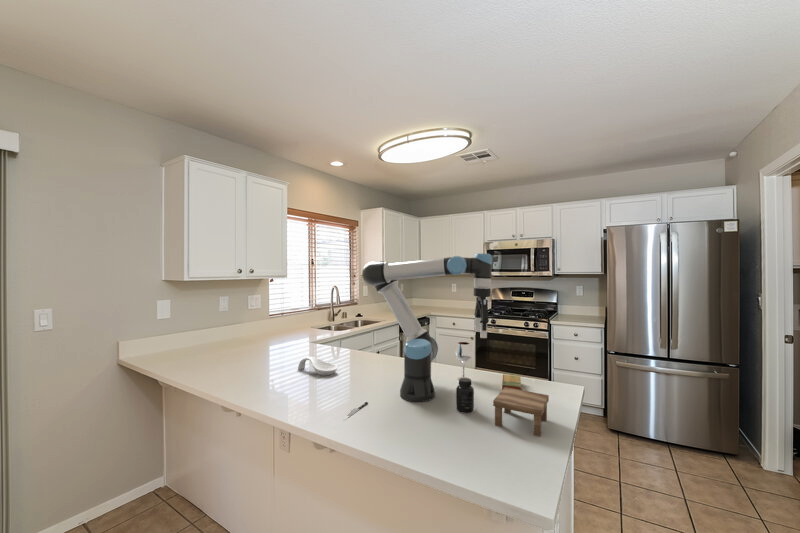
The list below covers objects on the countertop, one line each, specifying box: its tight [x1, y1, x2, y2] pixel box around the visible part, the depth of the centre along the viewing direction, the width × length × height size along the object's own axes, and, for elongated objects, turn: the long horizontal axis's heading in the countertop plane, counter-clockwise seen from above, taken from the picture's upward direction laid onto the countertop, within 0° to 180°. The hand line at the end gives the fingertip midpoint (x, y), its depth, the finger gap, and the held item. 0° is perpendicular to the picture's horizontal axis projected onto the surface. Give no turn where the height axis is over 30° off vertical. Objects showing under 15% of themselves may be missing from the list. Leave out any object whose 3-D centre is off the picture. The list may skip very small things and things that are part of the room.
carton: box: [501, 374, 522, 391], centre depth 161 cm, size 8×16×4 cm, turn 162°
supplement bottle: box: [455, 377, 475, 414], centre depth 136 cm, size 7×7×12 cm
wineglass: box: [455, 341, 473, 381], centre depth 173 cm, size 8×8×18 cm
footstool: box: [492, 387, 550, 437], centre depth 125 cm, size 16×16×9 cm
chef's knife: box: [347, 401, 369, 417], centre depth 133 cm, size 19×1×3 cm
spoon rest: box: [297, 356, 339, 376], centre depth 183 cm, size 24×12×7 cm, turn 62°
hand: (480, 334), depth 156 cm, fingers open, 13 cm apart
